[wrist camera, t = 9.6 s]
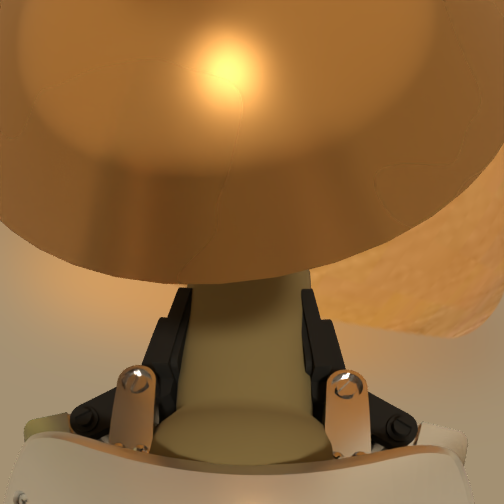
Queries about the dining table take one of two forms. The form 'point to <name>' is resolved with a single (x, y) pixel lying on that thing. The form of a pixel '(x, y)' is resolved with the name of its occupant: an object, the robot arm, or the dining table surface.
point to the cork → (244, 379)
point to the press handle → (240, 128)
